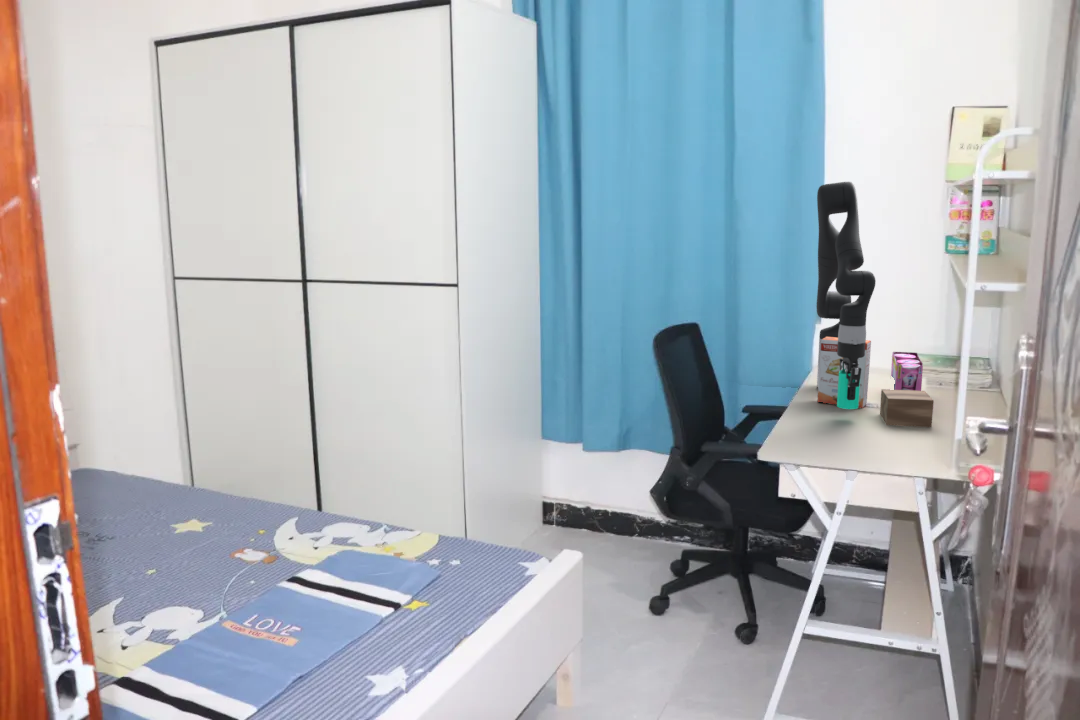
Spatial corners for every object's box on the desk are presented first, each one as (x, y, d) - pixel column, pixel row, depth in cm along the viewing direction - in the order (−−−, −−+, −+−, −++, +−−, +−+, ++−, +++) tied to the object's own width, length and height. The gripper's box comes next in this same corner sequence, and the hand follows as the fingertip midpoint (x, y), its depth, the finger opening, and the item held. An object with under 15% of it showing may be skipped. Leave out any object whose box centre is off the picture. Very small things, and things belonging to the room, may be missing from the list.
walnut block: (879, 414, 249) (881, 389, 248) (922, 416, 246) (924, 390, 245) (886, 425, 238) (888, 398, 236) (931, 427, 235) (933, 400, 233)
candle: (860, 409, 239) (862, 369, 236) (838, 408, 240) (840, 368, 237) (856, 404, 244) (859, 364, 242) (835, 403, 246) (837, 364, 243)
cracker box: (816, 403, 263) (820, 338, 259) (822, 399, 268) (825, 335, 264) (862, 409, 256) (867, 342, 251) (867, 404, 260) (871, 339, 256)
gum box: (921, 409, 255) (924, 366, 252) (893, 407, 257) (896, 364, 255) (914, 392, 277) (917, 352, 274) (889, 390, 279) (892, 351, 277)
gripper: (831, 335, 245) (828, 391, 249) (845, 344, 231) (841, 403, 235) (857, 335, 245) (854, 391, 248) (872, 344, 231) (868, 403, 234)
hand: (848, 397), depth 242 cm, fingers closed on candle, 5 cm apart
